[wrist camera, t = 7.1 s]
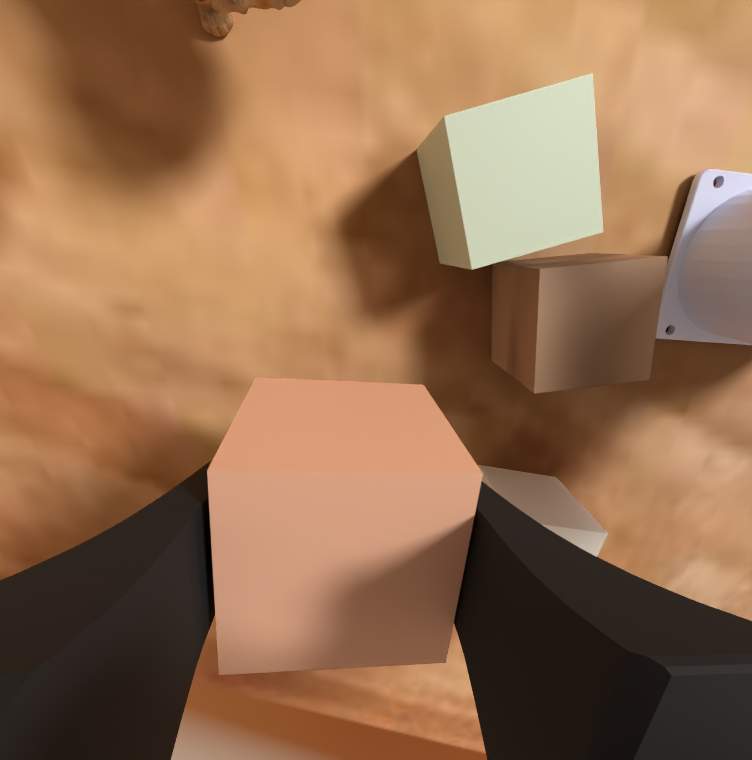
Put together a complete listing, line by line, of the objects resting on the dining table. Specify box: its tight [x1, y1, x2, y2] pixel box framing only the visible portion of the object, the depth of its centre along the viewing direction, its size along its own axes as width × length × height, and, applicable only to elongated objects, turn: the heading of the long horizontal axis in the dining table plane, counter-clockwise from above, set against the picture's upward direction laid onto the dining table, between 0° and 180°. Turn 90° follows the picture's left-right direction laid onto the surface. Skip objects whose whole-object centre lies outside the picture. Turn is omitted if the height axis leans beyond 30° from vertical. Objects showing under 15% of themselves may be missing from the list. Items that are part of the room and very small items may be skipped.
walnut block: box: [491, 253, 668, 394], centre depth 18 cm, size 5×5×5 cm
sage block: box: [416, 73, 603, 270], centre depth 16 cm, size 5×5×5 cm
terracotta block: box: [207, 377, 483, 675], centre depth 10 cm, size 5×5×5 cm
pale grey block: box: [478, 465, 608, 557], centre depth 22 cm, size 5×5×5 cm
